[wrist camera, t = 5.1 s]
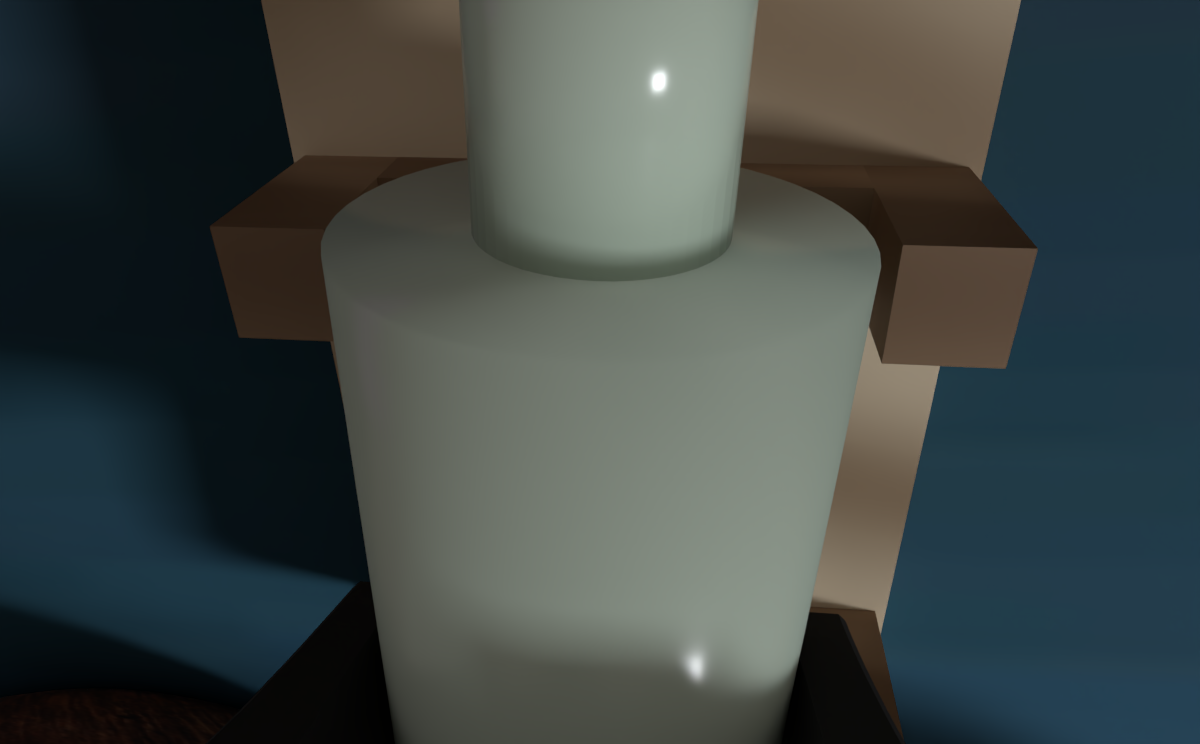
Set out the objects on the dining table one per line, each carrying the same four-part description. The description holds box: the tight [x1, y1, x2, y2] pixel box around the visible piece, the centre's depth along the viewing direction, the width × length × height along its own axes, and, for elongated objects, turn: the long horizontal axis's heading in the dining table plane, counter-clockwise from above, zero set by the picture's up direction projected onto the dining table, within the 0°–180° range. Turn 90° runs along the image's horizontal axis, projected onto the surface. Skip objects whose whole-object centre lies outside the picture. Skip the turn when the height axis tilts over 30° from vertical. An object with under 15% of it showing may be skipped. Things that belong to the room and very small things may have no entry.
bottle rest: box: [210, 0, 1038, 740], centre depth 15 cm, size 16×10×4 cm, turn 1°
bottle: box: [321, 0, 881, 744], centre depth 10 cm, size 16×5×5 cm, turn 179°
